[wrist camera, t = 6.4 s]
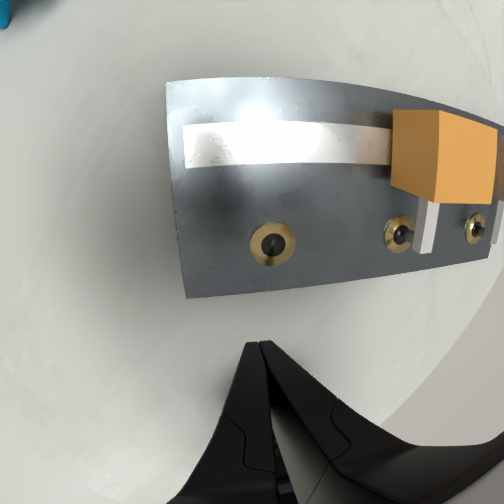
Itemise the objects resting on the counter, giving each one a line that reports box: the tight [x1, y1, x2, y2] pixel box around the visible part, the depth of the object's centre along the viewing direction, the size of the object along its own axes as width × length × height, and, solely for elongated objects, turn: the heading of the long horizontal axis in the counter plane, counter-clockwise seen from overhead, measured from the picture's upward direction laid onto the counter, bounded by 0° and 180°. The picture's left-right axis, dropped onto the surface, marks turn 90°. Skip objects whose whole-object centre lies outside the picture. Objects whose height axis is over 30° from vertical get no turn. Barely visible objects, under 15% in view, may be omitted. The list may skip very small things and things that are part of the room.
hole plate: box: [166, 77, 504, 299], centre depth 17 cm, size 14×30×7 cm, turn 92°
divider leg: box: [390, 110, 497, 254], centre depth 16 cm, size 10×6×5 cm, turn 2°
